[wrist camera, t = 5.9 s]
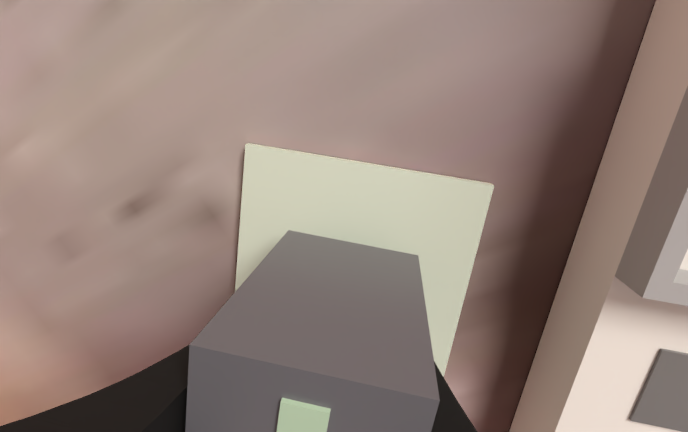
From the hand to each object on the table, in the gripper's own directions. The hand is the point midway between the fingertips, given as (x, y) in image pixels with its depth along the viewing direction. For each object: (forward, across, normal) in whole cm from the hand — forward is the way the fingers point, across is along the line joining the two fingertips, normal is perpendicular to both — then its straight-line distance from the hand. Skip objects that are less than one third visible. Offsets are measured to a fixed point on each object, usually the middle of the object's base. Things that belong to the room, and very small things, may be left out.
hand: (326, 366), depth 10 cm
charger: (+2, 0, 0) cm, 2 cm away
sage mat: (+4, 0, 0) cm, 4 cm away
